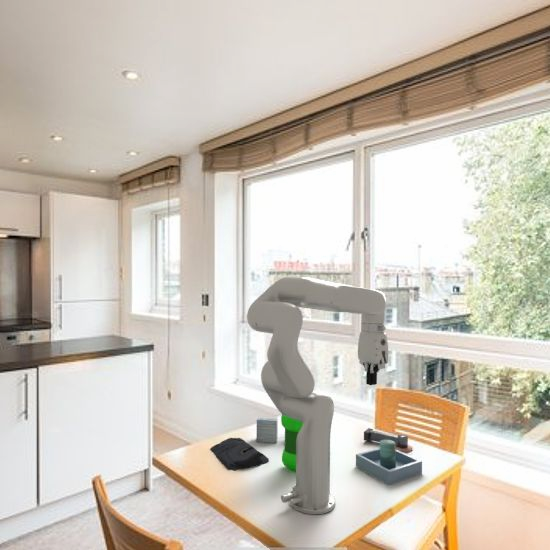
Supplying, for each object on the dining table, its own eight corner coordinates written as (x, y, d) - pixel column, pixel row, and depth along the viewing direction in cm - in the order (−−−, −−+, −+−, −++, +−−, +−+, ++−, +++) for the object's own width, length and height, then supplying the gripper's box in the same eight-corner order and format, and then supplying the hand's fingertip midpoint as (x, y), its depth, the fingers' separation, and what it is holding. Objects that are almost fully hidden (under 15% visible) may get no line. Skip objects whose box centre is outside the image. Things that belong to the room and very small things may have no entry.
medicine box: (277, 439, 167) (277, 416, 167) (276, 443, 162) (276, 420, 162) (257, 438, 167) (258, 416, 167) (256, 442, 163) (256, 419, 163)
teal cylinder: (386, 471, 137) (386, 446, 137) (377, 465, 142) (376, 441, 141) (399, 468, 139) (398, 444, 139) (389, 462, 144) (388, 438, 144)
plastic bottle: (292, 478, 133) (292, 399, 134) (275, 466, 142) (275, 391, 143) (317, 471, 139) (318, 395, 139) (299, 459, 148) (300, 387, 148)
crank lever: (409, 445, 159) (409, 435, 159) (405, 449, 155) (405, 439, 155) (368, 436, 168) (368, 426, 168) (363, 440, 164) (363, 430, 164)
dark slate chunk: (245, 442, 164) (245, 430, 164) (271, 464, 145) (271, 450, 145) (207, 449, 157) (207, 436, 157) (230, 474, 137) (230, 459, 137)
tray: (389, 484, 130) (389, 471, 130) (355, 466, 143) (355, 454, 143) (422, 473, 138) (422, 461, 138) (387, 456, 151) (387, 445, 151)
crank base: (403, 453, 153) (403, 452, 153) (388, 447, 159) (388, 445, 159) (416, 449, 157) (416, 448, 157) (401, 443, 163) (401, 441, 163)
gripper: (397, 330, 135) (396, 388, 135) (365, 325, 148) (364, 378, 148) (381, 331, 131) (379, 390, 131) (348, 326, 144) (347, 380, 144)
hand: (371, 384), depth 139 cm, fingers closed
